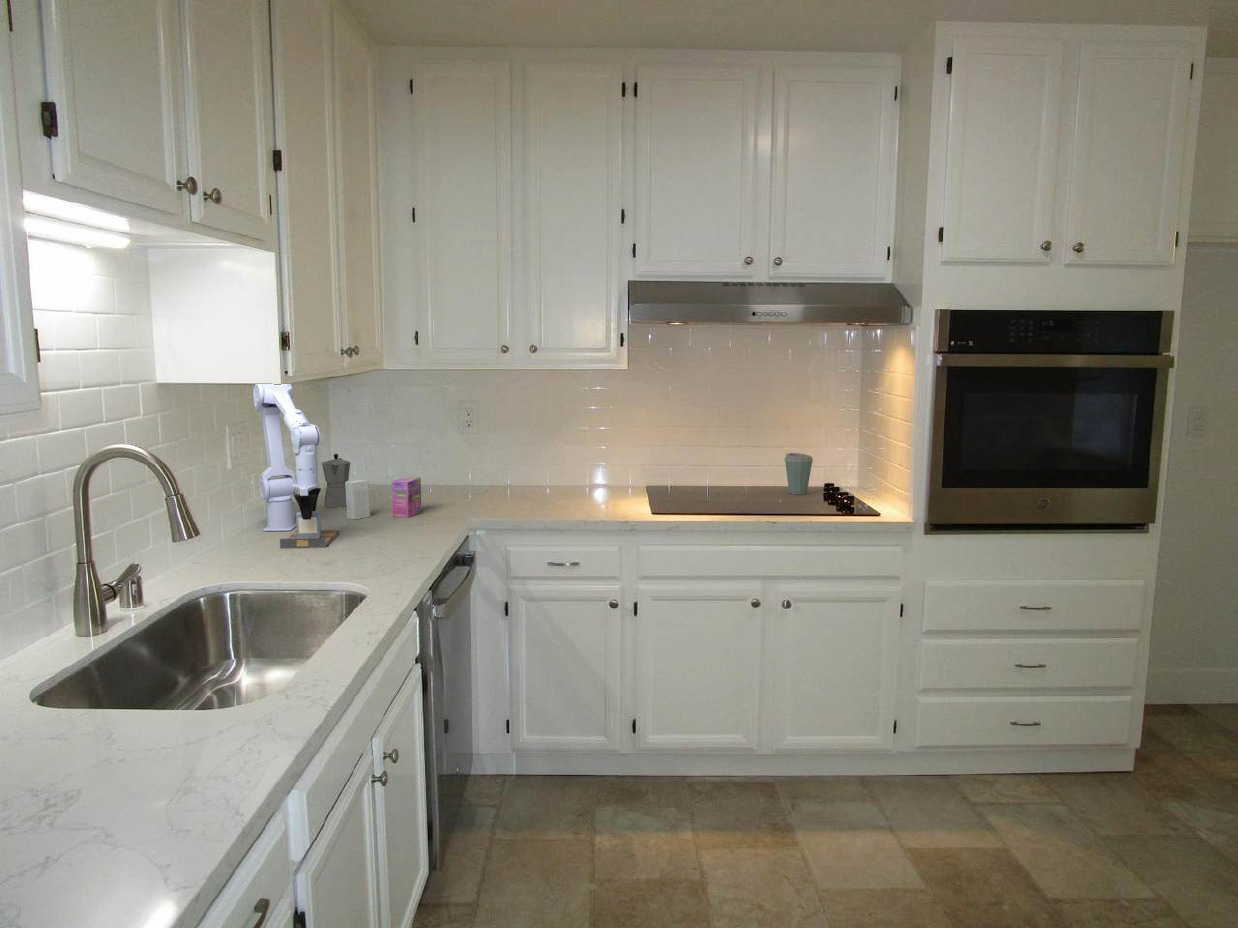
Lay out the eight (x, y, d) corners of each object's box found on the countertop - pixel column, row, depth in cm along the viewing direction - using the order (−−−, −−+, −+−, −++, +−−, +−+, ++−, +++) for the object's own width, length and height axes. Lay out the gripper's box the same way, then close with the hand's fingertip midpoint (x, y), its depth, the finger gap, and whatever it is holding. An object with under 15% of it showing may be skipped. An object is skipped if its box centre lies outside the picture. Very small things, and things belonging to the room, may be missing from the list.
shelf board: (296, 534, 251) (296, 530, 251) (338, 533, 252) (338, 529, 252) (281, 547, 235) (281, 543, 235) (326, 546, 236) (326, 542, 236)
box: (408, 518, 276) (407, 481, 274) (392, 517, 277) (390, 481, 275) (422, 511, 286) (421, 476, 284) (406, 511, 287) (405, 476, 285)
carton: (299, 536, 244) (297, 511, 243) (321, 535, 245) (320, 511, 244) (297, 539, 240) (295, 514, 239) (319, 538, 241) (318, 513, 240)
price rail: (281, 547, 235) (280, 538, 235) (326, 546, 236) (325, 537, 236) (279, 548, 234) (279, 539, 234) (325, 547, 235) (324, 538, 235)
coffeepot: (348, 508, 290) (346, 456, 288) (319, 509, 289) (317, 456, 287) (356, 500, 306) (354, 450, 303) (328, 501, 304) (326, 450, 302)
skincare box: (362, 515, 280) (361, 479, 278) (370, 517, 277) (368, 480, 275) (346, 518, 275) (344, 481, 273) (353, 520, 272) (352, 482, 271)
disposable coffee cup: (816, 492, 326) (817, 453, 324) (806, 496, 317) (807, 456, 315) (789, 490, 332) (790, 451, 330) (779, 494, 323) (780, 454, 321)
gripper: (295, 465, 246) (298, 511, 248) (287, 473, 232) (289, 522, 234) (321, 465, 247) (323, 511, 249) (314, 472, 233) (316, 521, 235)
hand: (309, 516), depth 242 cm, fingers open, 7 cm apart
